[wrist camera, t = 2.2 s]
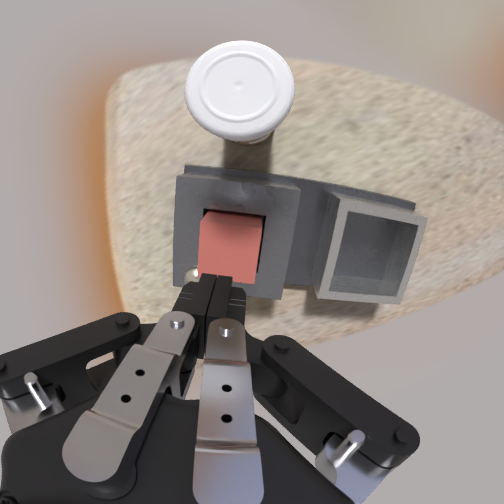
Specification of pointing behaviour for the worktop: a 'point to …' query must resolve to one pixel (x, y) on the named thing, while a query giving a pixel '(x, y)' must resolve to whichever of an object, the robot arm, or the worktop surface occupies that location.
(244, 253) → the button
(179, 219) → the grey push button box
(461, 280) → the worktop surface
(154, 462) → the robot arm
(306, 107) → the worktop surface
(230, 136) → the sprinkles bottle
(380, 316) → the worktop surface
